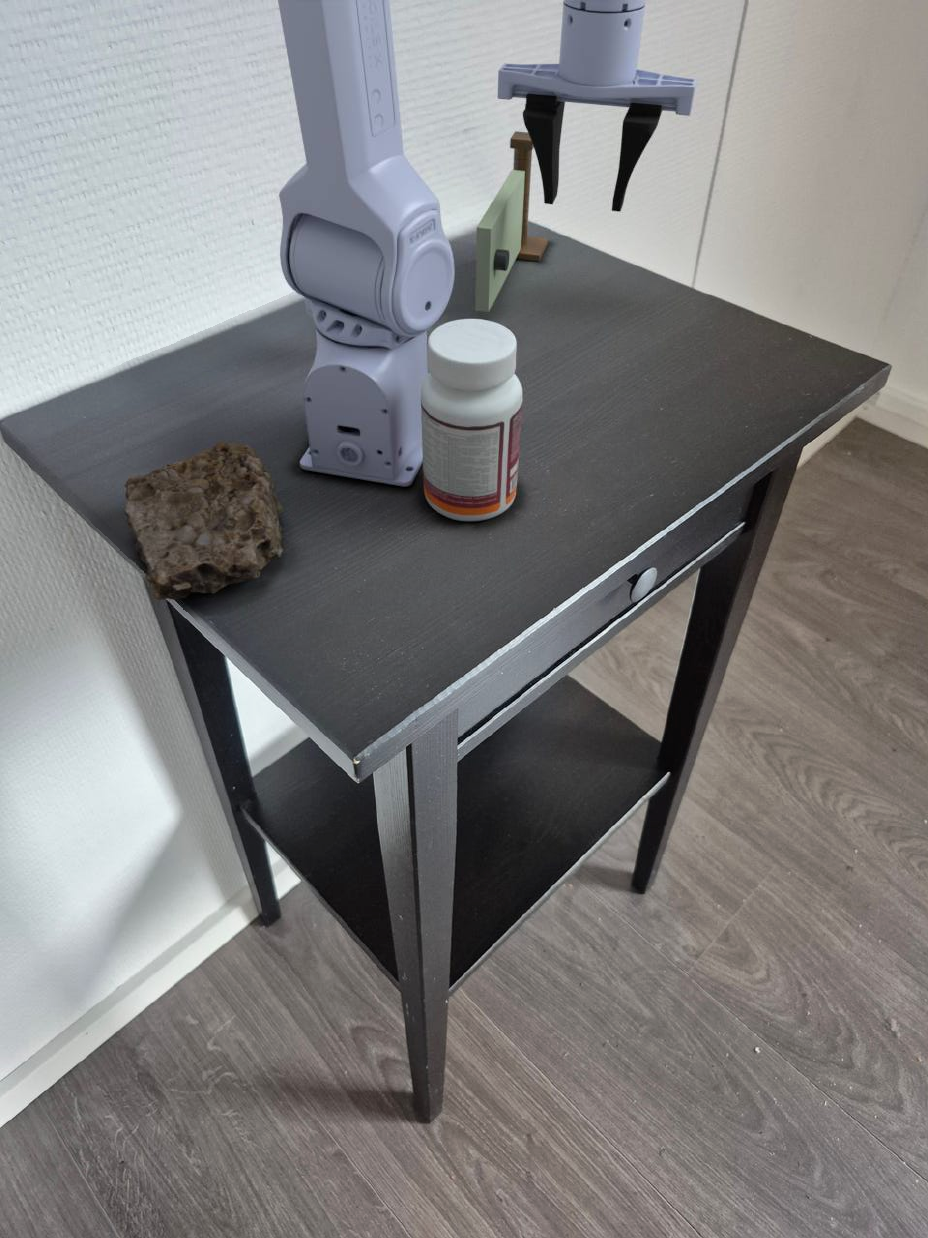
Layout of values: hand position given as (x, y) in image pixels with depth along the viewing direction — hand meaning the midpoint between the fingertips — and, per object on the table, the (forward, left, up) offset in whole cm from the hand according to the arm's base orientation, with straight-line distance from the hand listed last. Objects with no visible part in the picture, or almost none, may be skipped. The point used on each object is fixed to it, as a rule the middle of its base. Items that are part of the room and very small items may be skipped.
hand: (583, 202), depth 72 cm
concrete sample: (-38, +16, -4) cm, 41 cm away
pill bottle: (-29, +2, -9) cm, 30 cm away
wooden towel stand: (+9, +7, -8) cm, 14 cm away
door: (+1, +6, -8) cm, 10 cm away
